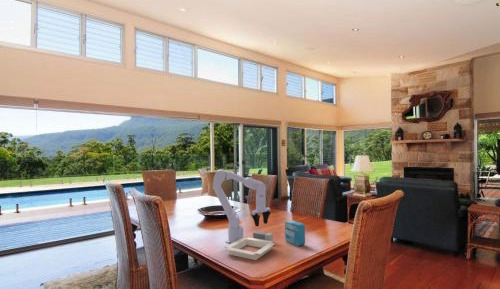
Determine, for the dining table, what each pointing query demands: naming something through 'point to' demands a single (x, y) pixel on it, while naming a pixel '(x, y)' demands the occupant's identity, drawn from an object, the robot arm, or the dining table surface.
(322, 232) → the dining table surface
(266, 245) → the cream square frame
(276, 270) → the dining table surface
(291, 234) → the data package
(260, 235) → the box
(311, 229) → the dining table surface
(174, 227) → the dining table surface
